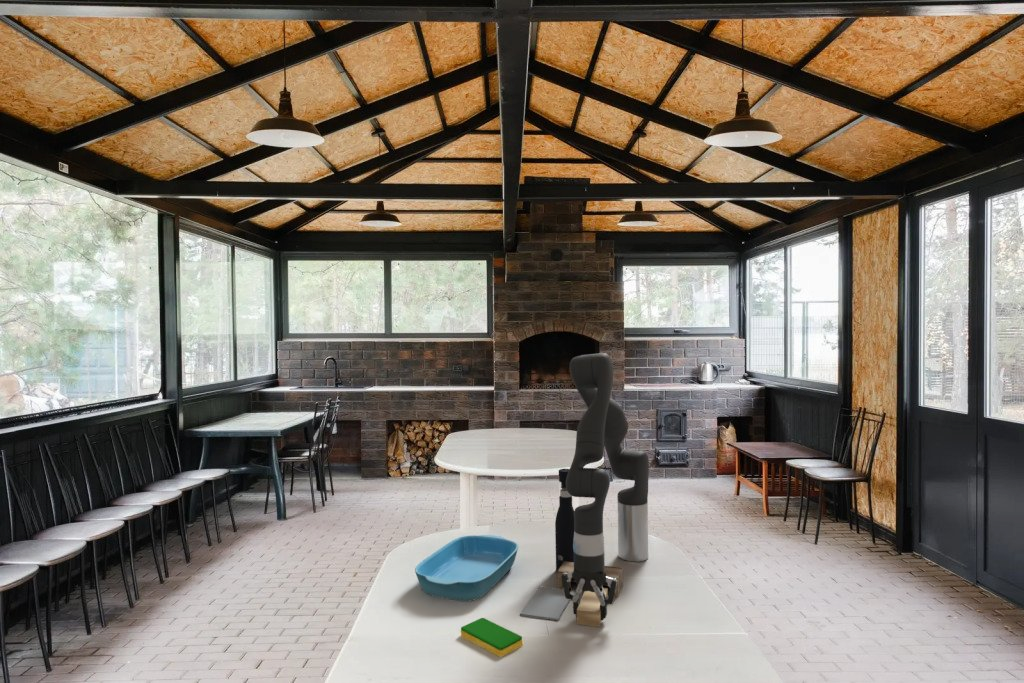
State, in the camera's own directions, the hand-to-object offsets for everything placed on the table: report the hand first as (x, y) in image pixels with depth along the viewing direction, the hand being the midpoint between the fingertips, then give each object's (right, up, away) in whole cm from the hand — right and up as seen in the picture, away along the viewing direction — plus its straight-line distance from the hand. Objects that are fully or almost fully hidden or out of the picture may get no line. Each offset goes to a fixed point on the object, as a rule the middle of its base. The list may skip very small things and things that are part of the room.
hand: (589, 617), depth 153 cm
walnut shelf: (+2, 0, +19) cm, 19 cm away
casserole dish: (-31, -1, +27) cm, 41 cm away
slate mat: (-10, -1, +10) cm, 14 cm away
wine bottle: (-3, 0, +31) cm, 31 cm away
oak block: (+1, -1, +4) cm, 4 cm away
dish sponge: (-24, -2, -9) cm, 26 cm away
